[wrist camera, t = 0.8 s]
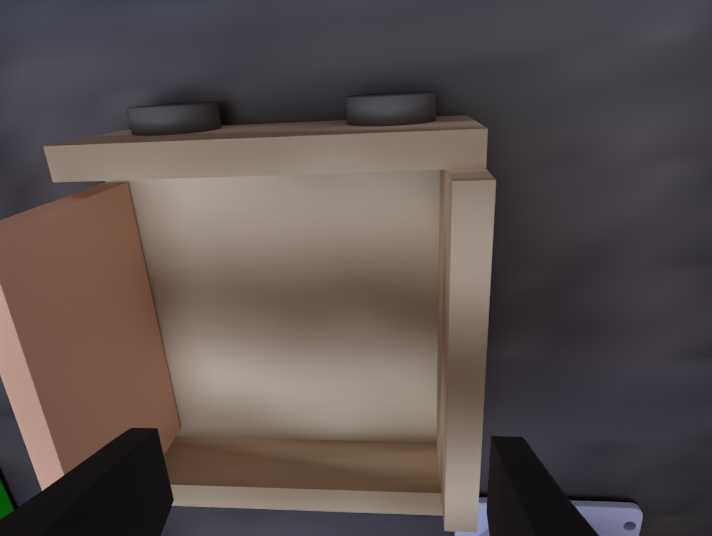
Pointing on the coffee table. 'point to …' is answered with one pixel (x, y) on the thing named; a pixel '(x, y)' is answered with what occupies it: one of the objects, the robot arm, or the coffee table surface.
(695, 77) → the coffee table surface
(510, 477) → the robot arm
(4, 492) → the puzzle cube
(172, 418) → the panel
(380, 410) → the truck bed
